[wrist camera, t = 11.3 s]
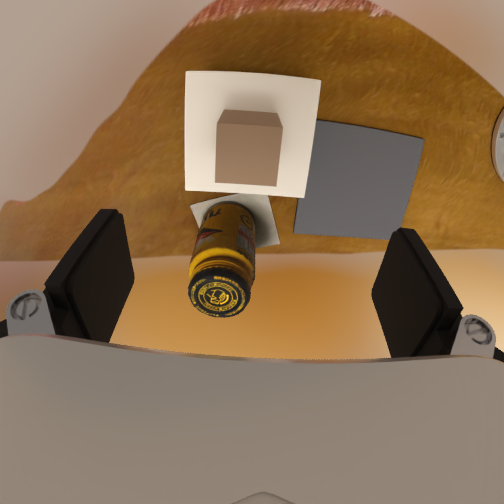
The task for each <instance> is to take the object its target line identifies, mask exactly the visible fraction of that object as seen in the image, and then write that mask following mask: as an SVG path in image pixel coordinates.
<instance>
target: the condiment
mask: <svg viewBox="0 0 504 504" xmlns="http://www.w3.org/2000/svg"><path fill="white" fill-rule="evenodd" d="M248 206H249V208H248ZM190 207H191V209H192V212H193V214H194V216H195V219H196V221H197V224H198V226H199V228H200V229H199V232H198V235H197V240H196V244H195V248H194V251H193V255H192V258H191V262H190V266H189V276H190V284H189V287H188V290H189V291H188V295H189V297H190V300H191V302H192V304H193V305H194V307H196V308H197V309H198V310H199V311H201V312H202V313H205V314H207V315H209V316H212V317H224V318H225V317H231V316H235V315H237V314H239V313H240V312H242V311H243V310H244V308H245V307H246V306H247V304H248V303H249V301H250V294H251V292H250V290H251V286H252V285H253V282H254V280H255V248H260V247H264V246H272V245H276V244H280V241H279V237H278V233H277V229H276V225H275V221H274V217H273V213H272V210H271V206H270V202H269V198H268V195H260V194H245V193H238V194H233V195H229V196H224V197H220V198H216V199H212V200H208V201H204V202H200V203H196V204H193V205H190ZM251 207H252V208H253V209H252V208H251Z"/></svg>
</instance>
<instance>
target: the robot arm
mask: <svg viewBox="0 0 504 504" xmlns="http://www.w3.org/2000/svg"><path fill="white" fill-rule="evenodd" d="M492 160H493V164H494V168H495V170H496V172H497V175H498V176H499V177H500V179H501V180H502V181H503V182H504V109H503V111H502V112H501V114H500V116H499V117H498V120H497V122H496V125H495V128H494V132H493V138H492ZM133 284H134V271H133V266H132V262H131V257H130V252H129V246H128V241H127V236H126V230H125V224H124V219H123V215H122V214H121V213H119V212H118V210H116V209H101V210H99V212H98V213H97V214H96V215H95V217H94V218H93V219H92V220H91V221H90V223H89V224H88V225H87V226H86V228H85V229H84V230H83V231H82V233H81V234H80V235H79V237H78V238H77V239H76V240H75V242H74V243H73V244H72V246H71V247H70V248H69V250H68V251H67V252H66V254H65V255H64V257H63V258H62V259H61V261H60V262H59V263H58V265H57V266H56V268H55V269H54V270H53V272H52V273H51V275H50V276H49V278H48V279H47V281H46V282H45V286H46V288H45V290H44V291H43V293H42V292H41V291H39V290H35V289H34V290H26V291H23V292H21V293H20V294H18V295H17V296H15V297H14V298H13V299H12V300H11V302H10V303H9V304H8V307H7V310H6V318H7V319H5V320H3V321H1V322H0V504H504V352H502V351H501V350H499V349H498V348H496V347H495V342H496V336H495V333H494V330H493V329H492V327H491V326H490V325H489V323H488V322H486V321H485V320H484V319H482V318H481V317H478V316H476V315H466V316H465V317H462V315H461V314H460V313H461V311H462V310H463V307H462V304H461V303H460V301H459V299H458V297H457V296H456V294H455V292H454V291H453V289H452V287H451V285H450V284H449V282H448V281H447V279H446V277H445V276H444V274H443V272H442V271H441V269H440V268H439V266H438V264H437V263H436V261H435V259H434V258H433V256H432V255H431V253H430V252H429V250H428V249H427V247H426V246H425V244H424V243H423V241H422V240H421V238H420V237H419V235H418V234H417V232H416V231H415V230H414V229H408V228H398V229H397V230H396V231H394V232H393V233H392V235H391V238H390V241H389V244H388V247H387V250H386V252H385V255H384V258H383V261H382V264H381V267H380V269H379V272H378V275H377V277H376V280H375V283H374V285H373V288H372V300H373V303H374V306H375V309H376V311H377V314H378V317H379V320H380V323H381V326H382V329H383V332H384V336H385V339H386V342H387V345H388V348H389V351H390V355H391V358H380V359H349V360H348V359H347V360H303V359H266V358H246V357H229V356H217V355H204V354H193V353H183V352H174V351H164V350H156V349H148V348H141V347H133V346H127V345H120V344H113V343H109V341H110V338H111V336H112V333H113V331H114V329H115V326H116V324H117V321H118V319H119V316H120V314H121V312H122V309H123V307H124V304H125V302H126V300H127V297H128V295H129V293H130V291H131V288H132V286H133Z"/></svg>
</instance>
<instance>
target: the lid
mask: <svg viewBox="0 0 504 504" xmlns="http://www.w3.org/2000/svg"><path fill="white" fill-rule="evenodd" d="M320 87H321V80H317V79H310V78H303V77H295V76H286V75H277V74H266V73H252V72H234V71H186V80H185V190H188V191H210V192H229V193H245V194H260V195H274V196H286V197H298V198H304V196H305V190H306V184H307V178H308V171H309V165H310V158H311V152H312V145H313V138H314V131H315V124H316V117H317V110H318V102H319V95H320Z"/></svg>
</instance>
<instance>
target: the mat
mask: <svg viewBox="0 0 504 504" xmlns="http://www.w3.org/2000/svg"><path fill="white" fill-rule="evenodd" d="M423 145H424V139H423V138H418V137H414V136H410V135H405V134H400V133H396V132H391V131H386V130H381V129H375V128H370V127H364V126H358V125H352V124H345V123H338V122H331V121H324V120H316V124H315V131H314V138H313V145H312V152H311V158H310V165H309V171H308V178H307V184H306V190H305V196H304V198H298V202H297V209H296V215H295V222H294V229H293V233H296V234H313V235H328V236H343V237H358V238H372V239H385V240H390V238H391V235H392V233H393V232H394V231H396V230H397V229H398V228H400V227H401V224H402V221H403V218H404V214H405V211H406V208H407V205H408V201H409V198H410V194H411V191H412V187H413V184H414V180H415V177H416V173H417V169H418V165H419V161H420V157H421V153H422V149H423Z"/></svg>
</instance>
